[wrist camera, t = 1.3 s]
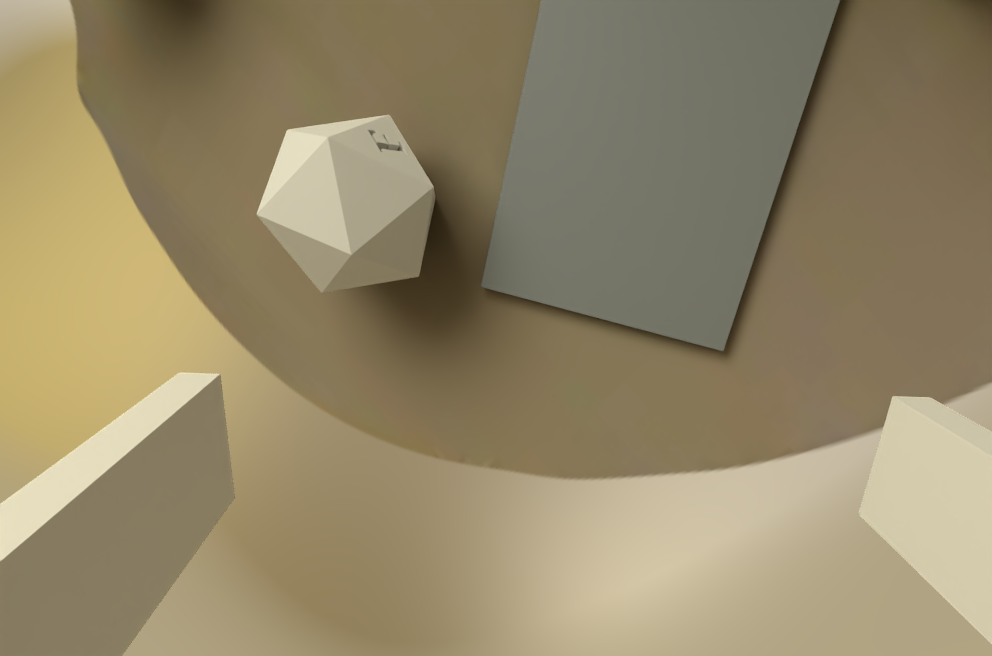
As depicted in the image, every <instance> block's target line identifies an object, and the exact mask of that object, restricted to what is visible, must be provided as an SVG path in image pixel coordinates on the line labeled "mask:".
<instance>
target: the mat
mask: <svg viewBox="0 0 992 656" xmlns="http://www.w3.org/2000/svg"><path fill="white" fill-rule="evenodd" d="M839 2H840V0H541V4H540V9H539V14H538V18H537V23H536V28H535V33H534V37H533V42H532V47H531V52H530V56H529V61H528V66H527V70H526V75H525V80H524V85H523V89H522V94H521V99H520V104H519V108H518V113H517V118H516V122H515V127H514V132H513V137H512V141H511V146H510V151H509V156H508V160H507V165H506V170H505V174H504V179H503V184H502V189H501V193H500V198H499V203H498V208H497V212H496V217H495V222H494V226H493V231H492V236H491V241H490V245H489V250H488V255H487V260H486V264H485V269H484V274H483V278H482V283H481V287H483V288H487V289H491V290H494V291H498V292H502V293H506V294H509V295H513V296H517V297H521V298H525V299H528V300H532V301H536V302H540V303H543V304H547V305H551V306H555V307H558V308H562V309H566V310H570V311H573V312H577V313H581V314H585V315H588V316H592V317H596V318H600V319H604V320H607V321H611V322H615V323H619V324H622V325H626V326H630V327H634V328H637V329H641V330H645V331H649V332H652V333H656V334H660V335H664V336H667V337H671V338H675V339H679V340H683V341H686V342H690V343H694V344H698V345H701V346H705V347H709V348H713V349H716V350H720V351H723V350H724V347H725V344H726V341H727V338H728V335H729V332H730V329H731V326H732V323H733V320H734V317H735V314H736V311H737V308H738V305H739V302H740V299H741V296H742V293H743V290H744V287H745V284H746V281H747V278H748V275H749V272H750V269H751V266H752V263H753V260H754V257H755V254H756V251H757V248H758V245H759V242H760V239H761V236H762V233H763V230H764V227H765V224H766V221H767V218H768V215H769V212H770V209H771V206H772V203H773V200H774V197H775V194H776V191H777V188H778V185H779V182H780V179H781V176H782V173H783V170H784V167H785V164H786V161H787V158H788V155H789V152H790V149H791V146H792V143H793V140H794V137H795V134H796V131H797V128H798V125H799V122H800V119H801V116H802V113H803V110H804V107H805V104H806V101H807V98H808V95H809V92H810V89H811V86H812V83H813V80H814V77H815V74H816V71H817V68H818V65H819V62H820V59H821V56H822V53H823V50H824V47H825V44H826V41H827V38H828V35H829V32H830V29H831V26H832V23H833V20H834V17H835V14H836V11H837V8H838V5H839Z"/></svg>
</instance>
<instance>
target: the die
mask: <svg viewBox="0 0 992 656" xmlns="http://www.w3.org/2000/svg"><path fill="white" fill-rule="evenodd" d="M435 198H436V197H435V191H434V186H433V185H432V183H431V181H430V180H429V178H428V177H427V175H426V173H425V172H424V170H423V169H422V167H421V165H420V164H419V162H418V160H417V159H416V157H415V156H414V154H413V152H412V151H411V149H410V147H409V146H408V144H407V143H406V141H405V139H404V138H403V136H402V135H401V133H400V131H399V130H398V128H397V126H396V125H395V123H394V122H393V120H392V118H391V117H390V115H384V116H377V117H370V118H364V119H357V120H350V121H343V122H337V123H330V124H323V125H316V126H309V127H303V128H296V129H289V130H287V132H286V135H285V138H284V140H283V143H282V146H281V149H280V151H279V154H278V157H277V160H276V162H275V165H274V168H273V171H272V173H271V176H270V179H269V182H268V184H267V187H266V190H265V193H264V195H263V198H262V201H261V204H260V206H259V209H258V212H257V216H258V217H259V218H260V219H261V220H262V222H263V223H264V224H265V225H266V226H267V228H268V229H269V230H270V231H271V232H272V234H273V235H274V236H275V237H276V239H277V240H278V241H279V242H280V243H281V245H282V246H283V247H284V248H285V249H286V251H287V252H288V253H289V254H290V255H291V257H292V258H293V259H294V260H295V261H296V263H297V264H298V265H299V266H300V267H301V269H302V270H303V271H304V272H305V274H306V275H307V276H308V277H309V278H310V280H311V281H312V282H313V283H314V284H315V286H316V287H317V288H318V289H319V290H320V292H321V293H325V292H331V291H337V290H343V289H349V288H355V287H361V286H367V285H373V284H379V283H384V282H390V281H396V280H402V279H408V278H414V277H419V274H420V270H421V265H422V260H423V255H424V251H425V246H426V241H427V236H428V232H429V227H430V222H431V217H432V213H433V208H434V203H435Z"/></svg>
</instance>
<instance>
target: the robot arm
mask: <svg viewBox="0 0 992 656" xmlns="http://www.w3.org/2000/svg"><path fill="white" fill-rule="evenodd" d="M234 498H235V494H234V486H233V478H232V469H231V461H230V452H229V444H228V436H227V427H226V419H225V410H224V402H223V393H222V384H221V376H220V374H207V373H206V374H204V373H178V374H177V375H175V376H174V377H173V378H171V379H170V380H169V381H167V382H166V383H165V384H163V385H162V386H160V387H159V388H158V389H156V390H155V391H154V392H152V393H151V394H150V395H148V396H147V397H145V398H144V399H143V400H141V401H140V402H139V403H137V404H136V405H135V406H133V407H132V408H131V409H129V410H128V411H126V412H125V413H124V414H122V415H121V416H120V417H118V418H117V419H115V420H114V421H113V422H111V423H110V424H109V425H107V426H106V427H105V428H103V429H102V430H100V431H99V432H98V433H96V434H95V435H94V436H92V437H91V438H90V439H88V440H87V441H85V442H84V443H83V444H81V445H80V446H79V447H77V448H76V449H75V450H73V451H72V452H70V453H69V454H68V455H66V456H65V457H64V458H62V459H61V460H60V461H58V462H57V463H56V464H54V465H53V466H51V467H50V468H49V469H47V470H46V471H45V472H43V473H42V474H40V475H39V476H38V477H36V478H35V479H34V480H32V481H31V482H30V483H29V484H27V485H26V486H24V487H23V488H21V489H20V490H19V491H17V492H16V493H15V494H13V495H12V496H10V497H9V498H8V499H7V500H5V501H4V502H2V503H1V504H0V656H122V655H123V654H124V652H125V651H126V649H127V648H128V647H129V645H130V644H131V643H132V641H133V640H134V638H135V637H136V636H137V634H138V633H139V631H140V630H141V628H142V627H143V626H144V624H145V623H146V621H147V620H148V619H149V617H150V616H151V614H152V613H153V612H154V610H155V609H156V608H157V606H158V605H159V603H160V602H161V601H162V599H163V598H164V596H165V595H166V594H167V592H168V591H169V589H170V588H171V587H172V585H173V584H174V582H175V581H176V579H177V578H178V577H179V575H180V574H181V573H182V571H183V569H184V568H185V567H186V566H187V564H188V563H189V561H190V560H191V559H192V557H193V556H194V554H195V553H196V552H197V550H198V549H199V547H200V546H201V544H202V543H203V542H204V540H205V539H206V538H207V536H208V535H209V533H210V532H211V531H212V529H213V528H214V526H215V525H216V524H217V522H218V521H219V519H220V518H221V517H222V515H223V514H224V512H225V511H226V510H227V508H228V507H229V505H230V504H231V503H232V501H233V500H234ZM859 515H860V516H861V517H862V518H863V519H864V520H865V521H866V522H867V523H868V524H869V525H870V526H871V527H872V528H873V529H874V530H875V531H876V532H877V533H878V534H879V535H880V536H882V538H884V539H885V541H887V542H888V543H889V544H890V545H891V546H892V547H893V548H894V549H895V550H896V551H897V552H898V553H899V554H900V555H901V556H902V557H903V558H904V559H905V560H906V561H907V562H908V563H909V564H910V565H911V566H912V567H913V568H914V569H915V570H916V571H917V572H918V573H919V574H920V575H921V576H922V577H923V578H924V579H925V580H926V581H927V582H929V584H931V585H932V586H933V587H934V588H935V589H936V590H937V591H938V592H939V593H940V594H941V595H942V596H943V597H944V598H945V599H946V600H947V601H948V602H949V603H950V604H951V605H952V606H953V607H954V608H955V609H956V610H957V611H958V612H959V613H960V614H961V615H962V616H964V618H966V619H967V621H968V622H969V623H970V624H972V626H974V627H975V628H976V629H977V630H978V631H979V632H980V633H981V634H982V635H983V636H984V637H985V638H986V639H987V640H988V641H989V642H990V643H991V644H992V432H991V431H990V430H988V429H986V428H984V427H982V426H981V425H979V424H977V423H975V422H973V421H971V420H970V419H968V418H966V417H964V416H963V415H960V414H959V413H957V412H955V411H954V410H952V409H950V408H948V407H947V406H945V405H943V404H941V403H939V402H938V401H936V400H934V399H932V398H930V397H900V396H893V397H892V400H891V404H890V407H889V411H888V414H887V418H886V421H885V425H884V428H883V431H882V435H881V438H880V442H879V445H878V449H877V452H876V455H875V459H874V462H873V466H872V470H871V473H870V476H869V479H868V483H867V486H866V490H865V493H864V497H863V500H862V504H861V507H860V511H859Z"/></svg>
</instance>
